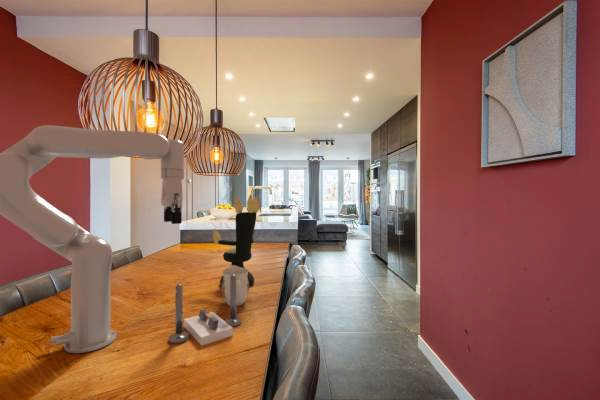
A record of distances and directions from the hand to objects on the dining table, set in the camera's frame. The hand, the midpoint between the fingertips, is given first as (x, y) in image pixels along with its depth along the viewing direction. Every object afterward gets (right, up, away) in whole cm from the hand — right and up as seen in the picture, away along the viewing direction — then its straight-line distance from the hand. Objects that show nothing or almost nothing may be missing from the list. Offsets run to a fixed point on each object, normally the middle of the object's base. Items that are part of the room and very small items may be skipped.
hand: (172, 222), depth 104 cm
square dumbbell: (+16, -32, -10) cm, 37 cm away
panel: (+16, -35, -10) cm, 39 cm away
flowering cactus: (+16, -34, +39) cm, 54 cm away
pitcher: (+20, -35, +14) cm, 42 cm away
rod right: (+23, -35, -4) cm, 42 cm away
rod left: (+9, -35, -15) cm, 39 cm away
